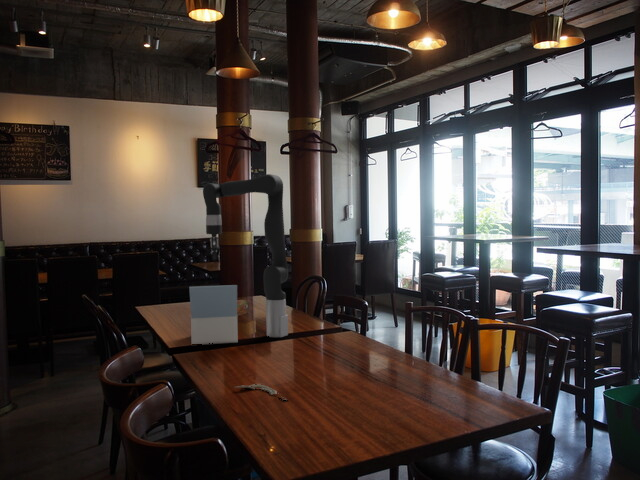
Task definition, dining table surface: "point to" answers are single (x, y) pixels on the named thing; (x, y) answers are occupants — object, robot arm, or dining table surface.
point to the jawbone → (260, 388)
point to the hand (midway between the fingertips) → (214, 259)
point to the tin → (242, 307)
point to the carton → (214, 330)
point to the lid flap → (213, 301)
